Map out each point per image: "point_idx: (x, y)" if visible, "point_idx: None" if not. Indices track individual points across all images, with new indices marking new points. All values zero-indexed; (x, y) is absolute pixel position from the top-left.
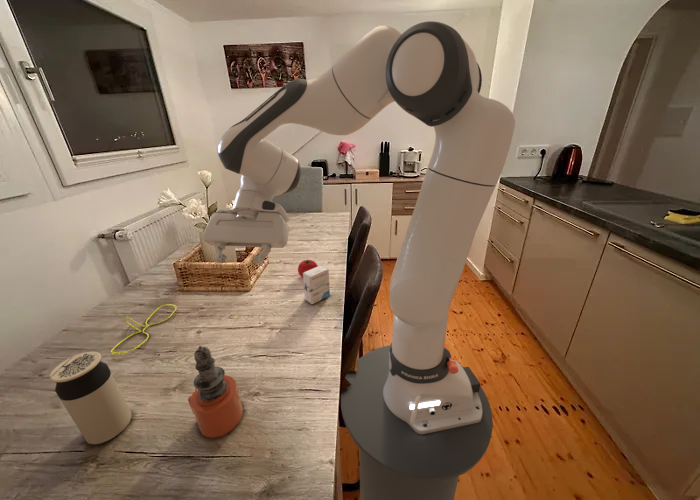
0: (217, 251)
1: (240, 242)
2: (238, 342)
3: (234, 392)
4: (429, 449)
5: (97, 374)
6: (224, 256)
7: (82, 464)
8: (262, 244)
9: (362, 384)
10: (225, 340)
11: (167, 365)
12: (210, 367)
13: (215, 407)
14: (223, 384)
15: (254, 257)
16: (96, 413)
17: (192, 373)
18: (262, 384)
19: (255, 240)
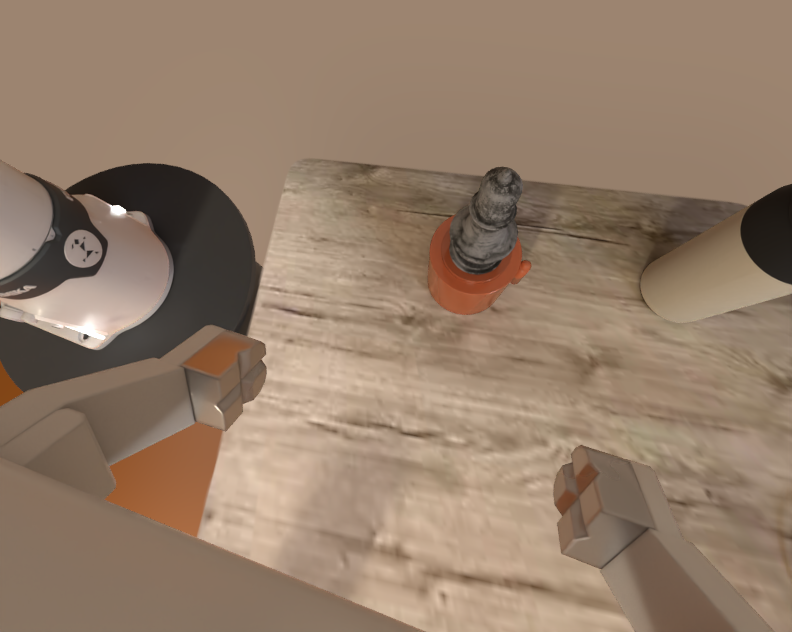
0: (700, 566)
1: (353, 607)
2: (490, 503)
3: (430, 245)
4: (145, 193)
5: (777, 216)
6: (579, 523)
7: (667, 230)
8: (22, 455)
9: (200, 315)
10: (532, 521)
11: (656, 443)
12: (474, 195)
13: None
14: (456, 252)
15: (234, 362)
16: (705, 231)
17: (573, 402)
18: (399, 342)
19: (42, 504)
